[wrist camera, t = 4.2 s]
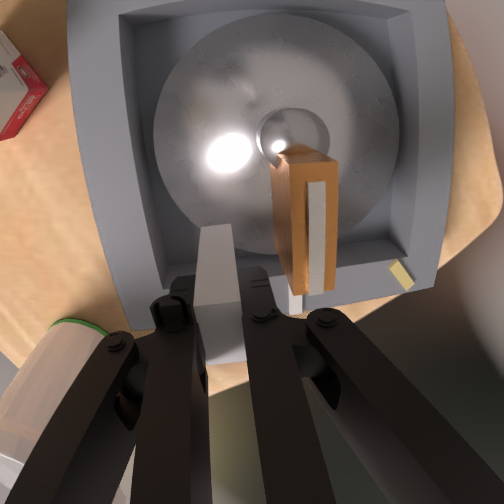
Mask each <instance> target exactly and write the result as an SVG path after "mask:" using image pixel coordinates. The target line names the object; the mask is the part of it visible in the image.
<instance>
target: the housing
mask: <svg viewBox="0 0 504 504" xmlns="http://www.w3.org/2000/svg"><path fill="white" fill-rule="evenodd" d="M264 14H289V15H297V16H302V17H307V18H311V19H314V20H317V21H319V22H322V23H325V24H327V25H329V26H331V27H333V28H335V29H337V30H339V31H341V32H342V33H344V34H345V35H347V36H348V37H350V38H351V39H352V40H354V41H355V42H356V43H357V44H358V45H360V46H361V47H362V48H363V49H364V50H365V51H366V52H367V53H368V54H369V56H370V57H371V58H372V59H373V60H374V61H375V63H376V64H377V65H378V67H379V69H380V70H381V72H382V73H383V75H384V76H385V78H386V80H387V83H388V85H389V87H390V89H391V91H392V94H393V97H394V100H395V104H396V108H397V113H398V119H399V133H400V136H399V150H398V155H397V160H396V164H395V168H394V171H393V174H392V177H391V179H390V181H389V183H388V185H387V188H386V190H385V192H384V193H383V195H382V196H381V198H380V200H379V201H378V203H377V204H376V205H375V206H374V208H373V209H372V210H371V211H370V213H369V214H368V215H367V216H366V217H365V218H364V219H363V220H362V221H361V222H360V223H359V224H358V225H356V226H355V227H354V228H352V229H351V230H350V231H349V232H347V233H346V234H344V235H342V236H341V237H339V238H337V257H336V276H335V290H330V291H324V293H323V294H318V295H312V296H309V295H308V294H304V295H297V296H293V294H292V291H291V289H290V286H289V283H288V281H287V278H286V275H285V273H284V270H283V268H282V265H281V262H280V260H279V257H278V255H273V254H260V253H254V252H248V251H244V250H241V249H238V248H235V247H234V252H235V260H236V268H237V269H239V268H247V267H255V266H261V267H262V268H263V269H264V270H266V271H267V274H268V277H269V281H270V284H271V288H272V291H273V295H274V298H275V302H276V305H277V308H279V309H280V311H281V312H282V314H290V315H296V314H302V312H304V311H310V310H316V309H319V308H328V307H334V306H340V305H345V304H351V303H356V302H362V301H367V300H372V299H377V298H382V297H387V296H392V295H397V294H402V293H407V292H411V291H416V290H421V289H425V288H429V287H433V285H434V281H435V277H436V273H437V268H438V263H439V259H440V254H441V248H442V243H443V237H444V232H445V226H446V219H447V212H448V205H449V197H450V188H451V178H452V166H453V152H454V125H455V101H454V75H453V60H452V49H451V40H450V32H449V25H448V18H447V12H446V6H445V1H444V0H67V46H68V63H69V76H70V86H71V96H72V104H73V112H74V119H75V126H76V132H77V139H78V144H79V150H80V155H81V161H82V166H83V171H84V176H85V180H86V185H87V189H88V194H89V198H90V202H91V206H92V210H93V214H94V218H95V222H96V226H97V229H98V233H99V237H100V240H101V244H102V247H103V250H104V254H105V257H106V260H107V263H108V267H109V270H110V273H111V276H112V279H113V282H114V285H115V288H116V291H117V294H118V297H119V299H120V302H121V305H122V308H123V310H124V313H125V316H126V318H127V321H128V324H129V326H130V329H131V331H138V330H151V329H156V326H155V323H154V320H153V317H152V314H151V311H150V308H149V307H150V306H151V304H152V302H154V301H155V300H156V299H157V298H159V297H162V296H164V295H168V294H169V292H170V286H171V283H172V282H173V281H174V280H175V278H176V277H177V276H186V275H194V274H196V270H197V260H198V250H199V241H200V232H201V229H200V228H199V227H197V226H196V225H195V224H194V223H192V222H191V221H190V220H189V218H188V217H187V216H186V215H185V214H184V213H183V212H182V211H181V210H180V209H179V207H178V206H177V204H176V203H175V202H174V200H173V199H172V197H171V196H170V194H169V192H168V190H167V188H166V186H165V185H164V182H163V180H162V177H161V174H160V172H159V169H158V165H157V161H156V156H155V151H154V139H153V131H154V117H155V112H156V108H157V103H158V100H159V97H160V94H161V91H162V89H163V86H164V84H165V82H166V80H167V78H168V77H169V75H170V73H171V71H172V70H173V68H174V67H175V65H176V64H177V63H178V61H179V60H180V59H181V57H182V56H183V55H184V54H185V53H186V52H187V51H188V50H189V49H190V48H191V47H192V46H193V45H194V44H195V43H197V42H198V41H199V40H201V39H202V38H203V37H205V36H206V35H207V34H209V33H210V32H212V31H214V30H216V29H218V28H220V27H221V26H223V25H225V24H228V23H231V22H233V21H236V20H239V19H242V18H246V17H251V16H256V15H264Z"/></svg>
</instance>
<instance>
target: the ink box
mask: <svg viewBox="0 0 504 504" xmlns="http://www.w3.org/2000/svg"><path fill="white" fill-rule="evenodd" d="M47 91H48V87H47V86H46V84H45V83H44V82H43V81H42V80H41V78H40V77H39V76H38V74H37V73H36V72H35V71H34V70H33V68H32V67H31V66H30V65H29V63H28V62H27V61H26V60H25V59H24V57H23V56H22V55H21V54H20V53H19V51H18V50H17V49H16V48H15V46H14V45H13V44H12V43H11V41H10V40H9V39H8V38H7V36H6V35H5V34H4V33H3V31H2V30H1V29H0V141H2V140H6V139H10V138H14V137H15V136H16V134H17V132H18V131H19V129H20V128H21V126H22V125H23V123H24V122H25V121H26V119H27V118H28V116H29V115H30V114H31V112H32V111H33V110H34V108H35V107H36V106H37V104H38V103H39V101H40V100H41V99H42V97H43V96H44V95H45V94H46V92H47Z"/></svg>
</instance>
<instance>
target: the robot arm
mask: <svg viewBox="0 0 504 504" xmlns="http://www.w3.org/2000/svg"><path fill="white" fill-rule="evenodd" d="M149 308H150V311H151V314H152V317H153V320H154V323H155V326H156V329H155V332H153V333H152V334H149V335H147V336H144V337H141V338H137V339H134V337H133V336H132V335H131V334H130V333H128V332H125V331H117V332H113V333H110V334H109V335H107V336H105V337H104V338H103V339H102V340H101V341H100V342H99V344H98V345H97V347H96V348H95V350H94V351H93V353H92V354H91V356H90V357H89V359H88V360H87V362H86V363H85V365H84V366H83V368H82V369H81V371H80V372H79V374H78V375H77V377H76V378H75V380H74V382H73V383H72V385H71V386H70V388H69V389H68V391H67V393H66V394H65V396H64V397H63V399H62V401H61V402H60V404H59V405H58V407H57V409H56V410H55V412H54V414H53V415H52V417H51V419H50V420H49V422H48V424H47V425H46V427H45V429H44V431H43V432H42V434H41V436H40V437H39V439H38V441H37V443H36V444H35V446H34V448H33V450H32V452H31V453H30V455H29V457H28V459H27V461H26V463H25V464H24V466H23V468H22V470H21V472H20V474H19V476H18V478H17V480H16V481H15V483H14V485H13V487H12V489H11V491H10V493H9V496H8V497H7V500H6V502H5V504H112V502H113V500H114V497H115V494H116V492H117V489H118V487H119V484H120V482H121V479H122V477H123V474H124V472H125V469H126V467H127V464H128V462H129V459H130V456H131V454H132V452H133V449H134V447H135V445H136V449H135V458H134V467H133V476H132V486H131V498H130V504H213V503H212V487H211V466H210V441H209V410H208V409H209V408H208V374H207V371H206V362H207V365H215V364H225V363H234V362H242V361H247V366H248V374H249V381H250V389H251V396H252V403H253V411H254V418H255V426H256V433H257V440H258V447H259V454H260V461H261V468H262V475H263V482H264V488H265V494H266V502H267V504H336V500H335V497H334V493H333V489H332V486H331V482H330V479H329V475H328V471H327V468H326V464H325V461H324V457H323V454H322V450H321V446H320V443H319V439H318V436H317V432H316V429H315V425H314V422H313V418H312V415H311V411H310V408H309V404H308V401H307V397H306V394H305V390H304V387H303V383H302V380H301V377H305V380H306V382H307V383H308V385H309V386H310V388H311V389H312V391H313V392H314V394H315V395H316V397H317V398H318V400H319V401H320V403H321V404H322V405H323V407H324V408H325V410H326V411H327V413H328V414H329V416H330V417H331V419H332V420H333V422H334V423H335V425H336V426H337V428H338V429H339V430H340V432H341V433H342V435H343V436H344V438H345V439H346V441H347V442H348V444H349V445H350V446H351V448H352V449H353V451H354V452H355V454H356V455H357V456H358V458H359V459H360V461H361V462H362V463H363V465H364V466H365V468H366V469H367V471H368V472H369V473H370V475H371V476H372V478H373V479H374V480H375V482H376V483H377V485H378V486H379V488H380V489H381V490H382V492H383V493H384V495H385V496H386V497H387V499H388V500H389V501H390V503H391V504H504V483H503V482H502V480H501V479H500V478H499V477H498V476H497V475H496V474H495V472H494V471H493V470H492V469H491V468H490V467H489V466H488V465H487V464H486V462H485V461H484V460H483V459H482V458H481V457H480V456H479V455H478V454H477V453H476V452H475V450H474V449H473V448H472V447H471V446H470V445H469V444H468V443H467V442H466V441H465V440H464V438H463V437H462V436H461V435H460V434H459V433H458V432H457V431H456V430H455V429H454V428H453V427H452V426H451V424H450V423H449V422H448V421H447V420H446V419H445V418H444V417H443V416H442V415H441V414H440V413H439V412H438V411H437V409H436V408H435V407H434V406H433V405H432V404H431V403H430V402H429V401H428V400H427V399H426V398H425V397H424V396H423V395H422V393H421V392H420V391H419V390H418V389H417V388H416V387H415V386H414V385H413V384H412V383H411V382H410V381H409V380H408V379H407V378H406V377H405V376H404V375H403V374H402V373H401V371H400V370H399V369H398V368H397V367H396V366H395V365H394V364H393V363H392V362H391V361H390V360H389V359H388V358H387V357H386V356H385V355H384V354H383V353H382V352H381V351H380V350H379V349H378V348H377V347H376V346H375V345H374V344H373V343H372V342H371V341H370V340H369V338H368V337H367V336H366V335H364V333H363V332H362V331H360V329H359V328H358V327H357V326H356V325H355V324H354V323H353V322H352V321H351V320H350V319H349V318H348V317H347V316H346V315H345V314H344V313H342V312H341V311H339V310H337V309H334V308H319V309H316V310H314V311H312V312H310V314H309V315H308V316H307V319H299V318H292V317H289V316H286V315H284V314H282V312H281V311H280V309H279V308H277V305H276V302H275V298H274V295H273V291H272V288H271V284H270V281H269V277H268V274H267V271H266V270H264V269H263V268H262V267H261V266H255V267H247V268H239V269H237V268H236V260H235V252H234V244H233V236H232V228H231V224H223V225H214V226H206V227H201V232H200V241H199V250H198V260H197V270H196V274H194V275H186V276H177V277H176V278H175V280H174V281H173V282H172V283H171V286H170V292H169V294H168V295H164V296H162V297H159V298H157V299H156V300H155V301H154V302H152V304H151V306H150V307H149Z"/></svg>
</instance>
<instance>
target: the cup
mask: <svg viewBox="0 0 504 504" xmlns="http://www.w3.org/2000/svg"><path fill="white" fill-rule="evenodd" d="M107 335H109V334H107V333H106V332H105V331H103V330H102V329H101V328H99V327H98V326H95V325H93V324H91V323H88V322H85V321H82V320H77V319H67V318H66V319H63V320H59V321H57V322H55V323H54V324H53V325H52V326H51V327H50V328H49V330H48V331H47V333H46V334H45V336H44V337H43V338H42V340H41V341H40V342H39V344H38V345H37V346H36V348H35V349H34V350H33V352H32V353H31V354H30V356H29V357H28V359H27V360H26V361H25V363H24V364H23V366H22V367H21V369H20V370H19V371H18V373H17V374H16V376H15V377H14V379H13V380H12V382H11V383H10V385H9V386H8V388H7V389H6V391H5V392H4V394H3V395H2V397H1V398H0V482H1V483H2V484H4V485H5V486H7V487H8V488H10V489H12V487H13V485H14V483H15V481H16V480H17V478H18V476H19V474H20V472H21V470H22V468H23V466H24V464H25V463H26V461H27V459H28V457H29V455H30V453H31V452H32V450H33V448H34V446H35V444H36V443H37V441H38V439H39V437H40V436H41V434H42V432H43V431H44V429H45V427H46V425H47V424H48V422H49V420H50V419H51V417H52V415H53V414H54V412H55V410H56V409H57V407H58V405H59V404H60V402H61V401H62V399H63V397H64V396H65V394H66V393H67V391H68V389H69V388H70V386H71V385H72V383H73V382H74V380H75V378H76V377H77V375H78V374H79V372H80V371H81V369H82V368H83V366H84V365H85V363H86V362H87V360H88V359H89V357H90V356H91V354H92V353H93V351H94V350H95V348H96V347H97V345H98V344H99V342H100V341H101V340H102V339H103V338H104V337H105V336H107ZM112 504H126V496H125V494H124V493H123V491H122V490H121V488H120V486H119V487H118V489H117V492H116V494H115V497H114V500H113V502H112Z"/></svg>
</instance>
